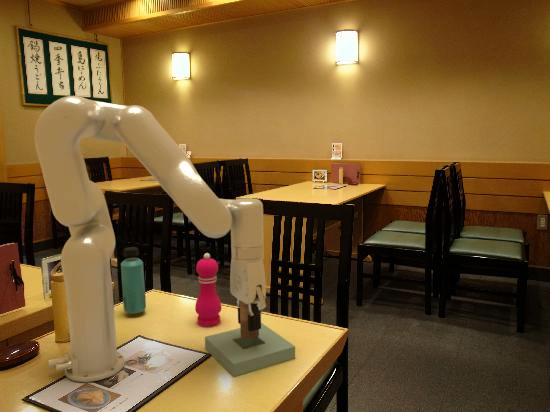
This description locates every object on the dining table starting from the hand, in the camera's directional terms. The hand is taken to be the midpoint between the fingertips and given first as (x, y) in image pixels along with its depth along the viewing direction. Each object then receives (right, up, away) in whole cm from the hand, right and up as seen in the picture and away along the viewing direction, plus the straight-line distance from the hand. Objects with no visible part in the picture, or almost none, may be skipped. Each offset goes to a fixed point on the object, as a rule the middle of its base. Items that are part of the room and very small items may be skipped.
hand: (249, 325), depth 112 cm
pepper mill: (-12, -4, +19) cm, 23 cm away
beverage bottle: (-35, -3, +25) cm, 43 cm away
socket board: (0, -7, +1) cm, 7 cm away
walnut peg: (0, -2, 0) cm, 3 cm away
